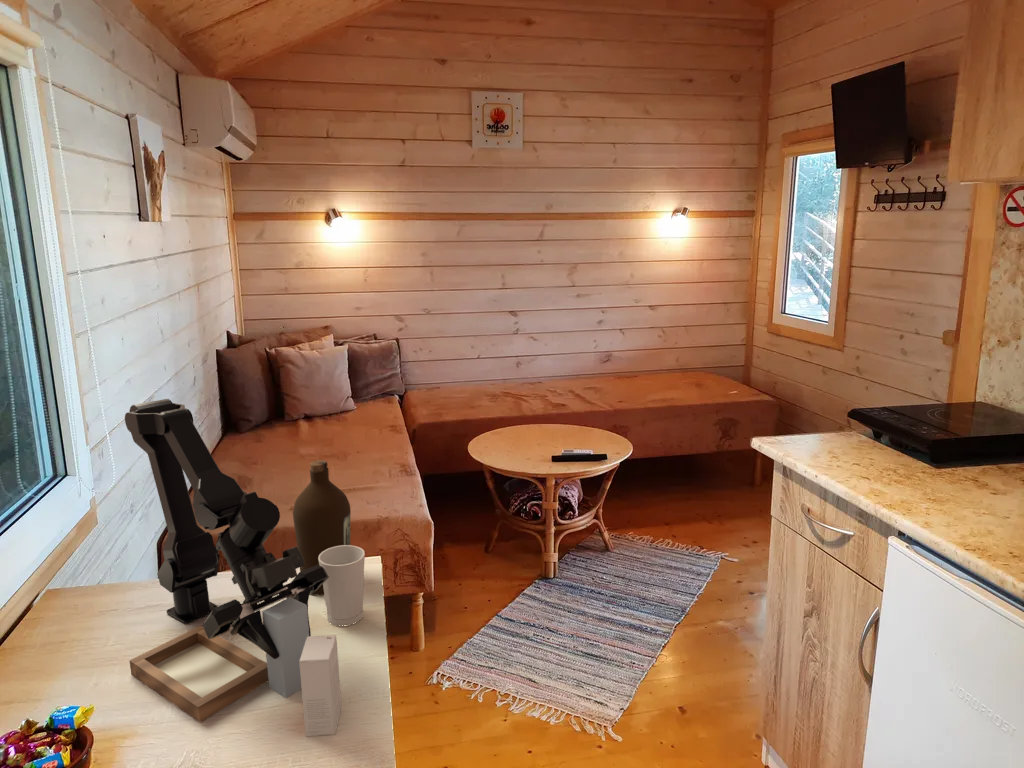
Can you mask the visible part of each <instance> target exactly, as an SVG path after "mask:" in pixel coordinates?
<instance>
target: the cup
mask: <svg viewBox="0 0 1024 768" xmlns="http://www.w3.org/2000/svg"><path fill="white" fill-rule="evenodd" d="M365 553H366V552H365V550H364V549H363V548H361V547H360V546H356V545H352V544H351V545H341V546H335V547H332V548H329V549H326V550H324V551H323V552H322V553H321V554H320V555H319V557H318V560H319V565H320V566H321V567H323V568H325V570H326V572H327V574H328V576H329V578H328V579H327V580H326V581H325V582H324V583H323V588H324V595H323V596H324V601H325V606H326V618H327V619H326V621H327V622H328V623H329V624H330V623H331V624H330V625H332V624H333V625H332V626H334V625H336V626H335V627H345V626H344V625H349V624H352V625H354V624H353V623H355V622H357V621H359V620H360V619H361V618H362V617H364V590H365V588H364V586H365V585H364V582H365V562H366V561H365V559H366V558H365V556H366V554H365ZM362 619H363V618H362ZM362 619H361V620H362ZM361 620H360V621H361ZM360 621H359V622H360ZM357 623H358V622H357ZM355 624H356V623H355ZM339 625H340V626H339ZM342 625H343V626H342ZM349 626H350V625H349Z"/></svg>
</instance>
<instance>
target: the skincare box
mask: <svg viewBox="0 0 1024 768" xmlns="http://www.w3.org/2000/svg"><path fill="white" fill-rule="evenodd" d="M338 655H339V654H338V640H337V635H336V634H334V635H333V634H332V635H331V634H330V635H311V636H310V637H307V639H306V642H305V645H304V648H303V651H302V655H301V658H300V661H299V665H300V676H301V697H302V698H301V699H302V711H303V720H304V722H303V723H304V730H305V731H304V733H305V734H304V735H305V736H306V737H315V736H317V737H320V736H331V735H332V736H333V735H336V732H337V728H338V723H339V719H340V714H341V710H342V696H341V684H340V683H341V682H340V681H341V680H340V670H339V669H340V668H339V656H338Z"/></svg>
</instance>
